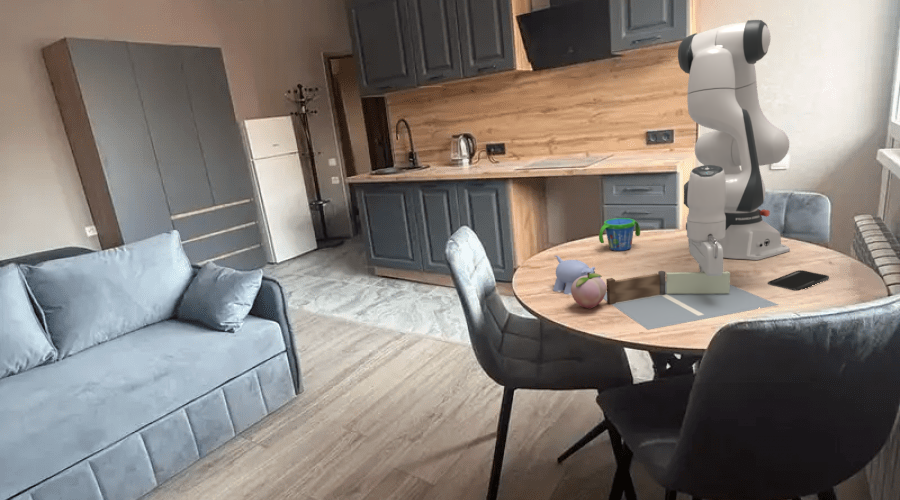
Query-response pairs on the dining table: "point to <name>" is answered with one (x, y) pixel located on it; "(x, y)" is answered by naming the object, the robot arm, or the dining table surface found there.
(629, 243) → the snack cup
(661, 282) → the fence fixed
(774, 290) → the dining table surface
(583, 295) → the decorative fruit
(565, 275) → the hippopotamus toy
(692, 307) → the board
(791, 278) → the phone
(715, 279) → the fence gate
